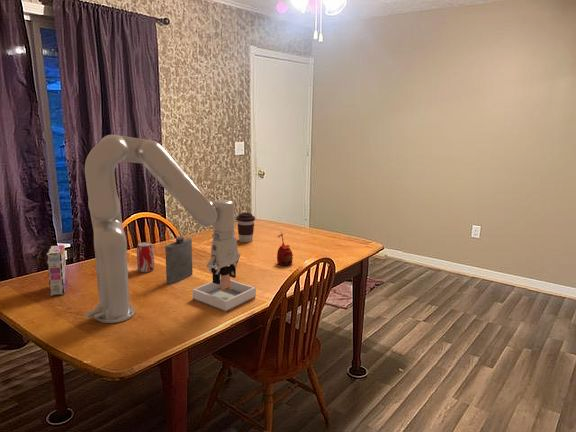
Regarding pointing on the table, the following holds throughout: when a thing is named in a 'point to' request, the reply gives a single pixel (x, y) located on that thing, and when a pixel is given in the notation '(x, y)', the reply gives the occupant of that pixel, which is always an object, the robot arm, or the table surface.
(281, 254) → the dark red rounded piece
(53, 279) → the candy bar box
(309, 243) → the table surface
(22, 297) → the table surface
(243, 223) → the coffee cup
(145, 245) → the soda can
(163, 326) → the table surface
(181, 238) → the flask
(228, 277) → the grandmother figurine
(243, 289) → the shadow box frame
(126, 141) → the robot arm
